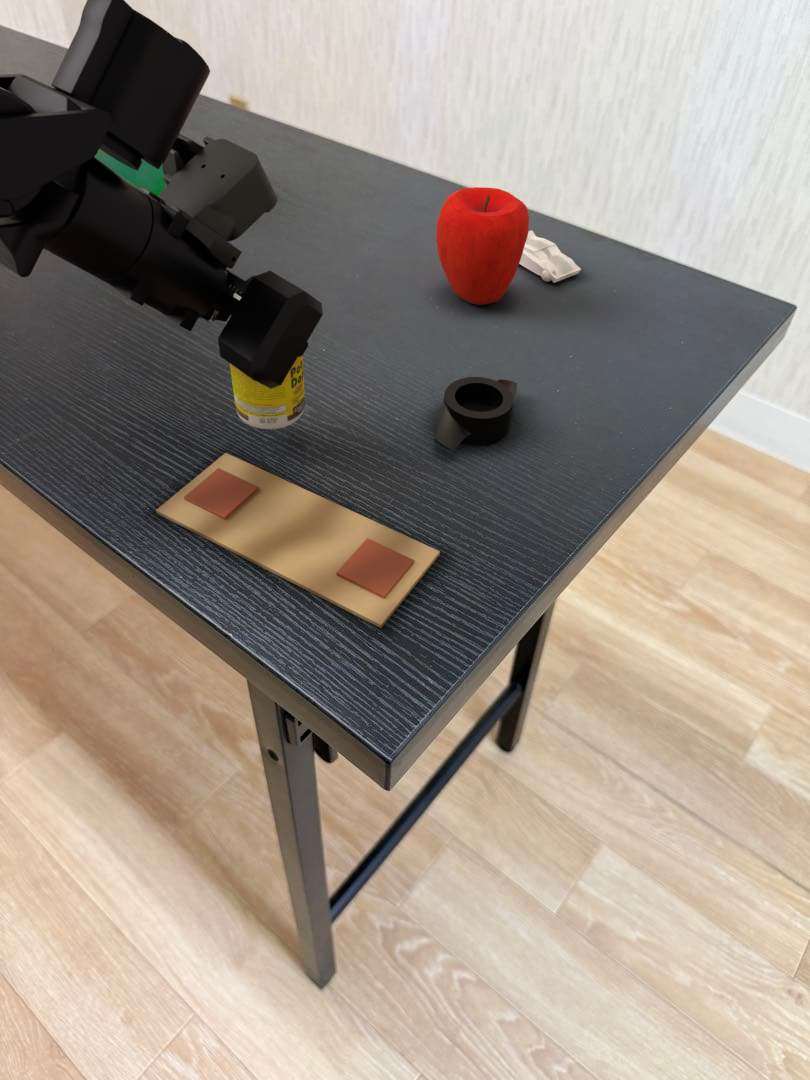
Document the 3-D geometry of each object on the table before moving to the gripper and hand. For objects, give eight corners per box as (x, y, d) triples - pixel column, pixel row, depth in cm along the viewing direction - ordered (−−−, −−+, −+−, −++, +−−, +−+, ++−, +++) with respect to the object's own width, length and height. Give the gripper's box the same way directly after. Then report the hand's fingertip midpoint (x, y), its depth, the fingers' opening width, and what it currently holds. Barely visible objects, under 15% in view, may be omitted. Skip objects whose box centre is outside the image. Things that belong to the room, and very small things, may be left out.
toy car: (531, 247, 92) (534, 228, 91) (582, 276, 88) (586, 256, 86) (501, 258, 90) (504, 238, 89) (551, 288, 86) (555, 268, 84)
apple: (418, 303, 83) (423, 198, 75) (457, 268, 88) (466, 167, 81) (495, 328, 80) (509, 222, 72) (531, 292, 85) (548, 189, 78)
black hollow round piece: (548, 439, 68) (553, 411, 66) (440, 465, 65) (442, 437, 63) (507, 388, 73) (511, 361, 71) (405, 410, 70) (406, 382, 68)
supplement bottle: (303, 433, 63) (296, 316, 56) (232, 432, 63) (215, 314, 55) (308, 392, 67) (302, 277, 60) (240, 390, 67) (226, 275, 59)
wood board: (156, 513, 61) (155, 507, 60) (226, 456, 65) (225, 449, 65) (381, 628, 54) (381, 622, 53) (439, 554, 59) (440, 548, 58)
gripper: (289, 158, 42) (424, 286, 55) (100, 67, 51) (257, 197, 64) (182, 345, 43) (340, 425, 57) (18, 225, 52) (188, 319, 66)
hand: (279, 333), depth 61 cm, fingers closed on supplement bottle, 5 cm apart
